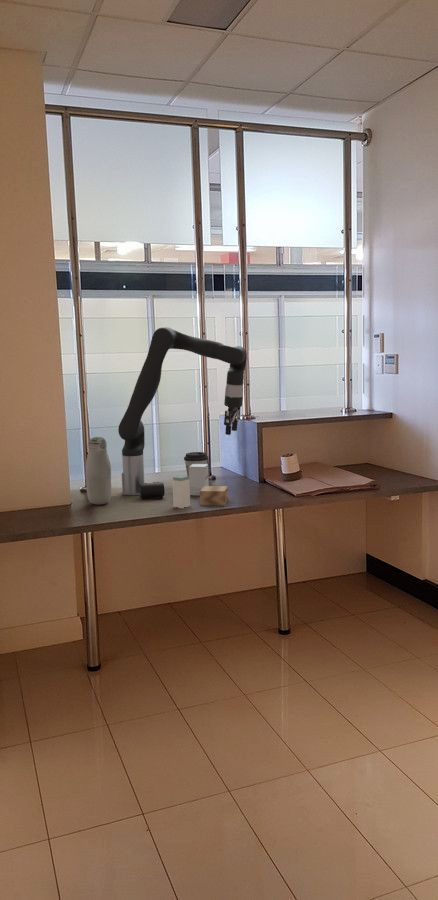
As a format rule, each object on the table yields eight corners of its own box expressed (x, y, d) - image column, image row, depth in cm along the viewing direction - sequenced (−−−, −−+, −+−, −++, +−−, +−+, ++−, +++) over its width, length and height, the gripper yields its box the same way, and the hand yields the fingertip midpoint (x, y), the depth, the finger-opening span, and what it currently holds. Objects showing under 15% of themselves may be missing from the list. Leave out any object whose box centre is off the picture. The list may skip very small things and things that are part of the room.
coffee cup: (213, 486, 322) (212, 454, 320) (189, 489, 318) (188, 456, 316) (204, 482, 332) (203, 450, 330) (181, 484, 328) (180, 452, 326)
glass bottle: (84, 507, 289) (80, 438, 284) (92, 501, 299) (88, 435, 294) (108, 507, 287) (104, 438, 283) (115, 501, 297) (111, 435, 293)
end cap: (141, 501, 297) (140, 485, 296) (138, 497, 304) (138, 482, 303) (165, 499, 300) (164, 483, 299) (161, 495, 307) (161, 480, 306)
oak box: (200, 505, 287) (200, 491, 286) (204, 500, 296) (204, 486, 296) (225, 505, 285) (224, 491, 284) (228, 500, 295) (227, 486, 294)
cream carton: (182, 508, 282) (181, 478, 280) (173, 506, 284) (172, 477, 283) (190, 506, 285) (189, 476, 283) (181, 504, 288) (180, 475, 286)
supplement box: (205, 495, 304) (204, 466, 302) (189, 495, 305) (188, 466, 303) (209, 492, 311) (208, 463, 309) (193, 491, 312) (192, 463, 310)
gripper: (230, 391, 303) (228, 428, 307) (219, 396, 290) (217, 434, 294) (247, 393, 300) (244, 430, 304) (237, 398, 287) (234, 437, 291)
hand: (231, 432), depth 299 cm, fingers open, 8 cm apart
